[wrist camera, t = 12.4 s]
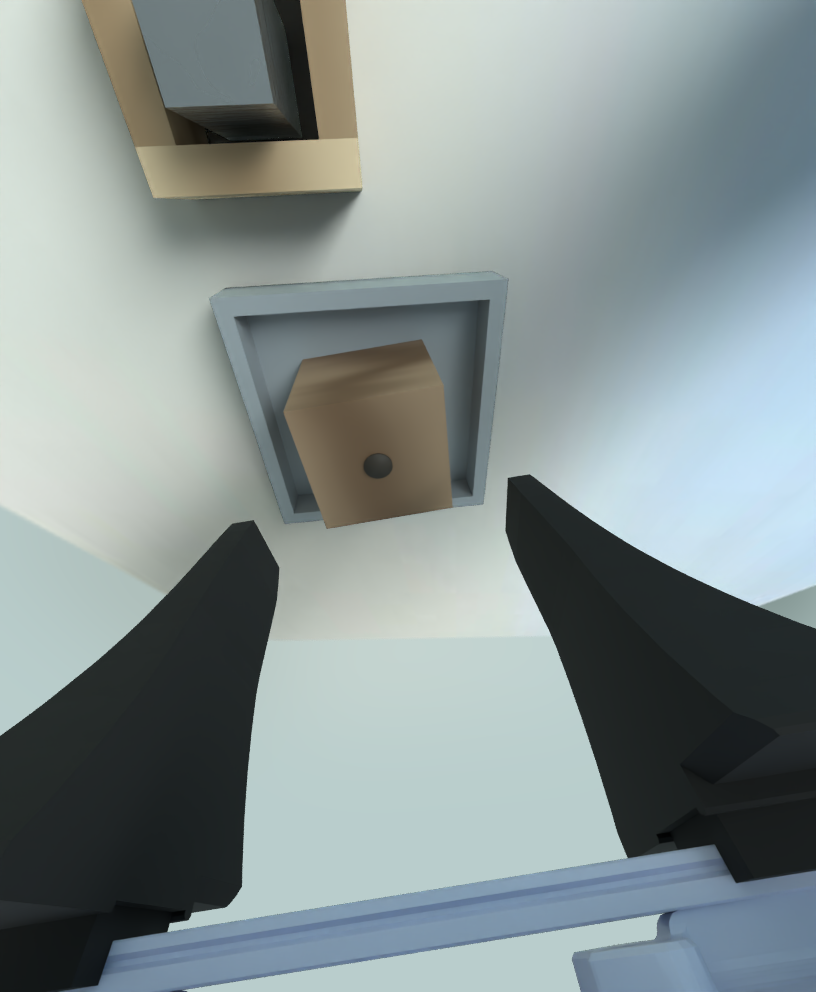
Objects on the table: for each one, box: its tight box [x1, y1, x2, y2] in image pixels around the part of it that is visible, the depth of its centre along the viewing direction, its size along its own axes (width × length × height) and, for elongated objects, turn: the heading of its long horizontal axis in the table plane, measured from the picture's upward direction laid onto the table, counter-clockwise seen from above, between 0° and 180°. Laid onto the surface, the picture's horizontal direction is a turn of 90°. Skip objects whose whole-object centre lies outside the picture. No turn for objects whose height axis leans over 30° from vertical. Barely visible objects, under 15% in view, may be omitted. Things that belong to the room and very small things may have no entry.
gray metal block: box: [132, 0, 302, 141], centre depth 9 cm, size 2×2×5 cm
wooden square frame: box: [82, 0, 362, 200], centre depth 10 cm, size 6×6×3 cm
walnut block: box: [283, 339, 453, 529], centre depth 15 cm, size 5×5×5 cm
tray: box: [209, 271, 508, 524], centre depth 17 cm, size 10×10×2 cm
